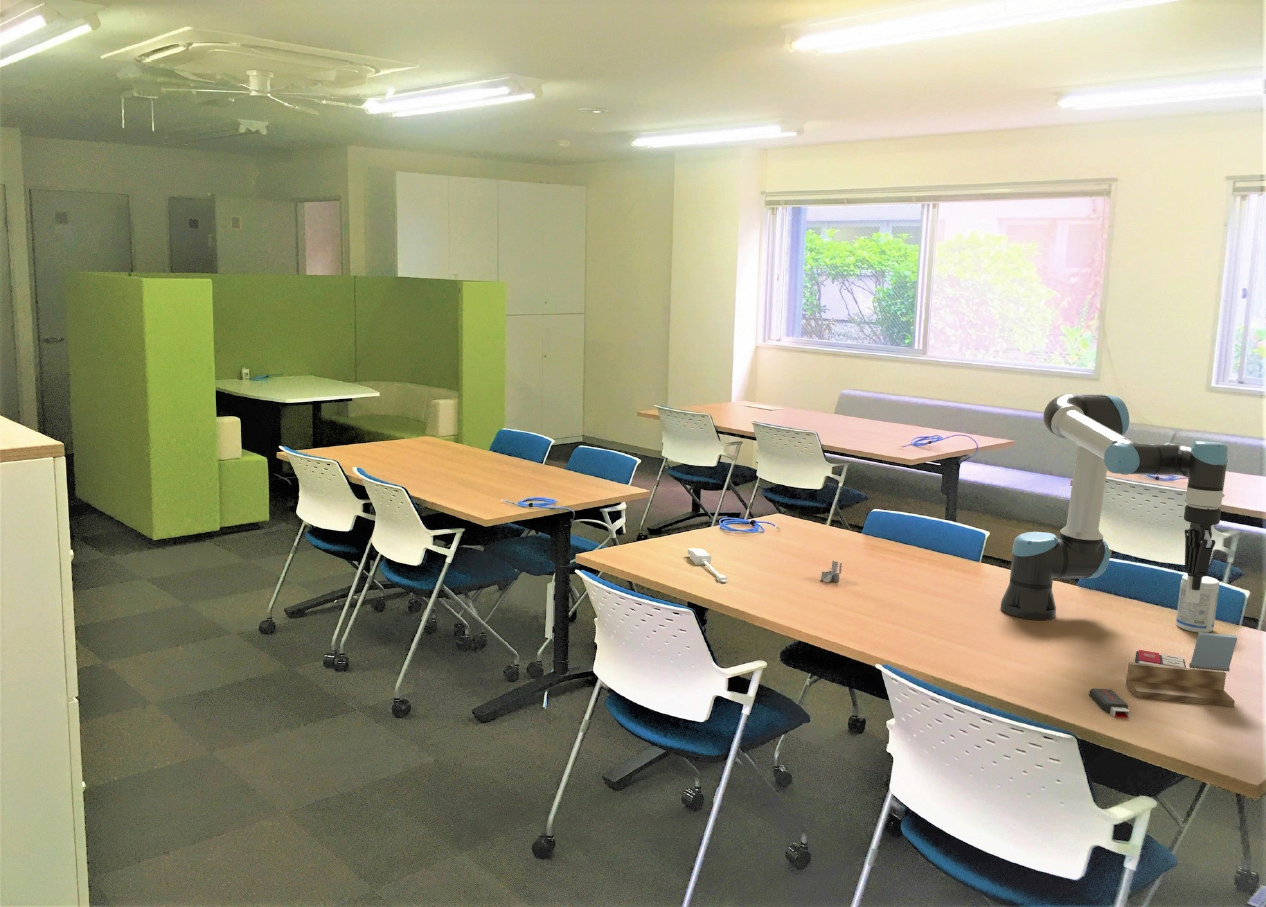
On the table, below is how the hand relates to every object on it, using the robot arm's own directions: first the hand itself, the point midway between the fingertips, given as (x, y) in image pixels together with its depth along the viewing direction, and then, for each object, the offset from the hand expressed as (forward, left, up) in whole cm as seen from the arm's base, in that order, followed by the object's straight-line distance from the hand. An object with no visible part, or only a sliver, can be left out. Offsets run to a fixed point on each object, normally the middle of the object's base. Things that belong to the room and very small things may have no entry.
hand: (1192, 601), depth 244 cm
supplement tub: (+18, +44, -20) cm, 52 cm away
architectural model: (-83, +55, -21) cm, 101 cm away
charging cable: (-124, +62, -20) cm, 140 cm away
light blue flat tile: (+3, -9, -9) cm, 13 cm away
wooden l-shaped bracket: (-4, -12, -20) cm, 23 cm away
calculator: (-4, +2, -20) cm, 21 cm away
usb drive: (-23, -23, -20) cm, 38 cm away
